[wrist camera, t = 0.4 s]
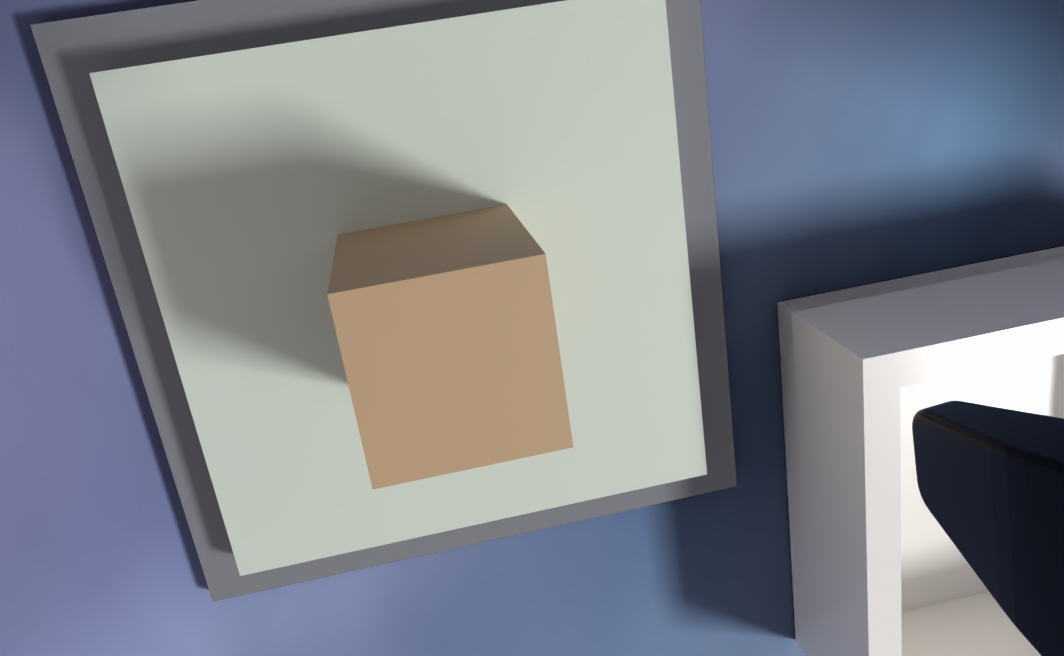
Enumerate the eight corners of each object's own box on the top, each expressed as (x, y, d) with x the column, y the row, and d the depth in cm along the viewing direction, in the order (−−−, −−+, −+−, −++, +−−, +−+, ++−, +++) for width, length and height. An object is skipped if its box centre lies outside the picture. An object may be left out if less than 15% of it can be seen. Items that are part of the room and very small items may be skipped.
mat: (688, -70, 19) (694, -73, 18) (730, 478, 23) (736, 486, 22) (37, 24, 17) (30, 24, 17) (215, 591, 21) (212, 601, 21)
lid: (652, -13, 18) (753, -29, 13) (695, 459, 22) (787, 580, 17) (101, 70, 17) (-7, 87, 12) (244, 556, 21) (206, 716, 16)
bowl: (1150, 228, 23) (1304, 267, 19) (1119, 561, 26) (1245, 651, 22) (777, 302, 22) (862, 359, 18) (795, 640, 25) (870, 748, 21)
